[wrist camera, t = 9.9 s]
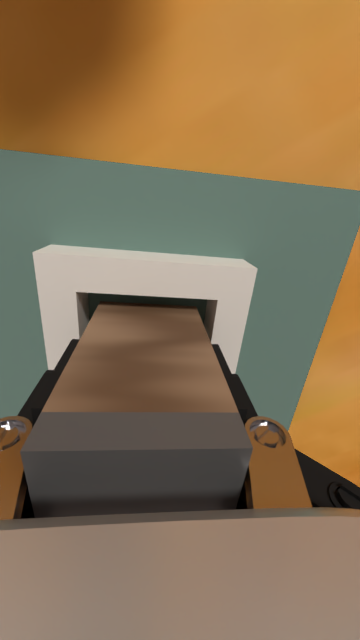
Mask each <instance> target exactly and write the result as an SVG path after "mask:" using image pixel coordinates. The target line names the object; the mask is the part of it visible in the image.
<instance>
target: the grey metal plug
mask: <svg viewBox="0 0 360 640" xmlns="http://www.w3.org/2000/svg"><path fill="white" fill-rule="evenodd" d="M252 451H253V446H252V444H251V441H250V439H249V436H248V434H247V431H246V429H245V426H244V424H243V421H242V419H241V416H240V414H239V412H238V409H237V407H236V404H235V402H234V399H233V397H232V394H231V392H230V389H229V387H228V384H227V382H226V379H225V377H224V374H223V372H222V369H221V367H220V364H219V362H218V359H217V357H216V354H215V352H214V350H213V347H212V345H211V342H210V340H209V337H208V335H207V332H206V330H205V327H204V325H203V322H202V320H201V317H200V315H199V312H198V310H197V307H196V306H181V305H162V304H143V303H124V302H104V301H100V303H99V305H98V306H97V308H96V310H95V312H94V314H93V316H92V318H91V320H90V321H89V323H88V325H87V327H86V329H85V331H84V333H83V335H82V336H81V338H80V340H79V342H78V344H77V346H76V348H75V350H74V351H73V353H72V355H71V357H70V359H69V361H68V363H67V365H66V366H65V368H64V370H63V372H62V374H61V376H60V378H59V379H58V381H57V383H56V385H55V387H54V389H53V391H52V393H51V394H50V396H49V398H48V400H47V402H46V404H45V406H44V408H43V409H42V411H41V413H40V415H39V417H38V419H37V421H36V423H35V424H34V426H33V428H32V430H31V432H30V434H29V436H28V438H27V439H26V441H25V443H24V445H23V447H22V449H21V451H20V454H21V458H22V463H23V467H24V472H25V476H26V481H27V485H28V490H29V494H30V499H31V503H32V508H33V512H34V517H35V518H49V517H70V516H91V515H114V514H137V513H160V512H184V511H210V510H236V507H237V503H238V500H239V496H240V493H241V489H242V486H243V482H244V479H245V475H246V472H247V468H248V465H249V461H250V458H251V454H252Z"/></svg>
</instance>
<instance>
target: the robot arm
mask: <svg viewBox="0 0 360 640" xmlns="http://www.w3.org/2000/svg"><path fill="white" fill-rule="evenodd" d="M79 340H80V339H72V340H71V341H70V343H69V345H68V347H67V348H66V350H65V352H64V353H63V355H62V357H61V358H60V360H59V362H58V363H57V365H56V367H55V368H54V370H46V372H45V373H44V374H43V376H42V377H41V379H40V380H39V382H38V384H37V385H36V387H35V388H34V390H33V391H32V393H31V395H30V396H29V398H28V399H27V401H26V402H25V404H24V406H23V407H22V409H21V410H20V412H19V413H18V415H17V416H8V417H4V418H0V640H360V488H359V487H358V486H356V485H355V484H353V483H352V482H350V481H348V480H347V479H345V478H343V477H342V476H340V475H338V474H337V473H335V472H333V471H331V470H330V469H328V468H326V467H325V466H323V465H321V464H320V463H318V462H316V461H315V460H313V459H311V458H310V457H308V456H306V455H304V454H303V453H301V452H299V451H298V450H296V449H294V446H293V443H292V439H291V436H290V434H289V432H288V431H287V430H286V429H285V427H284V426H283V425H281V424H280V423H279V422H277V421H275V420H273V419H271V418H268V417H263V416H258V414H257V412H256V410H255V408H254V406H253V404H252V402H251V400H250V398H249V396H248V394H247V392H246V390H245V388H244V386H243V384H242V382H241V380H240V377H239V376H238V375H237V374H232V373H231V371H230V369H229V367H228V364H227V362H226V360H225V358H224V356H223V353H222V351H221V349H220V347H219V345H218V344H211V345H212V347H213V350H214V352H215V354H216V357H217V359H218V362H219V364H220V367H221V369H222V372H223V374H224V377H225V379H226V382H227V384H228V387H229V389H230V392H231V394H232V397H233V399H234V402H235V404H236V407H237V409H238V412H239V414H240V416H241V419H242V421H243V424H244V426H245V429H246V431H247V434H248V436H249V439H250V441H251V444H252V446H253V451H252V454H251V458H250V461H249V465H248V468H247V472H246V475H245V479H244V482H243V486H242V489H241V493H240V496H239V500H238V503H237V507H236V510H210V511H184V512H160V513H137V514H114V515H91V516H70V517H49V518H35V517H34V512H33V508H32V503H31V499H30V494H29V490H28V485H27V481H26V476H25V472H24V467H23V463H22V458H21V454H20V451H21V449H22V447H23V445H24V443H25V441H26V439H27V438H28V436H29V434H30V432H31V430H32V428H33V426H34V424H35V423H36V421H37V419H38V417H39V415H40V413H41V411H42V409H43V408H44V406H45V404H46V402H47V400H48V398H49V396H50V394H51V393H52V391H53V389H54V387H55V385H56V383H57V381H58V379H59V378H60V376H61V374H62V372H63V370H64V368H65V366H66V365H67V363H68V361H69V359H70V357H71V355H72V353H73V351H74V350H75V348H76V346H77V344H78V342H79Z"/></svg>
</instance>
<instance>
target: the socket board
mask: <svg viewBox="0 0 360 640" xmlns="http://www.w3.org/2000/svg"><path fill="white" fill-rule="evenodd" d="M359 226H360V191H357V190H348V189H340V188H331V187H323V186H314V185H305V184H297V183H288V182H279V181H271V180H262V179H253V178H245V177H236V176H228V175H219V174H210V173H202V172H193V171H184V170H176V169H167V168H159V167H150V166H141V165H133V164H124V163H115V162H107V161H98V160H90V159H81V158H72V157H64V156H55V155H46V154H38V153H29V152H20V151H12V150H3V149H0V418H4V417H8V416H17V415H18V413H19V412H20V410H21V409H22V407H23V406H24V404H25V402H26V401H27V399H28V398H29V396H30V395H31V393H32V391H33V390H34V388H35V387H36V385H37V384H38V382H39V380H40V379H41V377H42V376H43V374H44V373H45V372H46V370H54V368H55V367H56V365H57V363H58V362H59V360H60V358H61V357H62V355H63V353H64V352H65V350H66V348H67V347H68V345H69V343H70V341H71V340H72V339H80V338H81V336H82V335H83V333H84V331H85V329H86V327H87V325H88V323H89V321H90V320H91V318H92V316H93V314H94V312H95V310H96V308H97V306H98V305H99V303H100V301H104V302H124V303H143V304H162V305H181V306H196V307H197V310H198V312H199V315H200V317H201V320H202V322H203V325H204V327H205V330H206V332H207V335H208V337H209V340H210V342H211V344H218V345H219V347H220V349H221V351H222V353H223V356H224V358H225V360H226V362H227V364H228V367H229V369H230V371H231V373H232V374H237V375H238V376H239V377H240V380H241V382H242V384H243V386H244V388H245V390H246V392H247V394H248V396H249V398H250V400H251V402H252V404H253V406H254V408H255V410H256V412H257V414H258V416H263V417H268V418H271V419H273V420H275V421H277V422H279V423H280V424H281V425H283V426H284V427H285V429H286V430H287V431H288V430H289V427H290V424H291V421H292V418H293V415H294V412H295V410H296V407H297V404H298V401H299V398H300V395H301V392H302V389H303V387H304V384H305V381H306V378H307V375H308V372H309V369H310V367H311V364H312V361H313V358H314V355H315V352H316V349H317V346H318V344H319V341H320V338H321V335H322V332H323V329H324V326H325V324H326V321H327V318H328V315H329V312H330V309H331V306H332V303H333V301H334V298H335V295H336V292H337V289H338V286H339V283H340V281H341V278H342V275H343V272H344V269H345V266H346V263H347V260H348V258H349V255H350V252H351V249H352V246H353V243H354V240H355V238H356V235H357V232H358V229H359Z"/></svg>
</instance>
